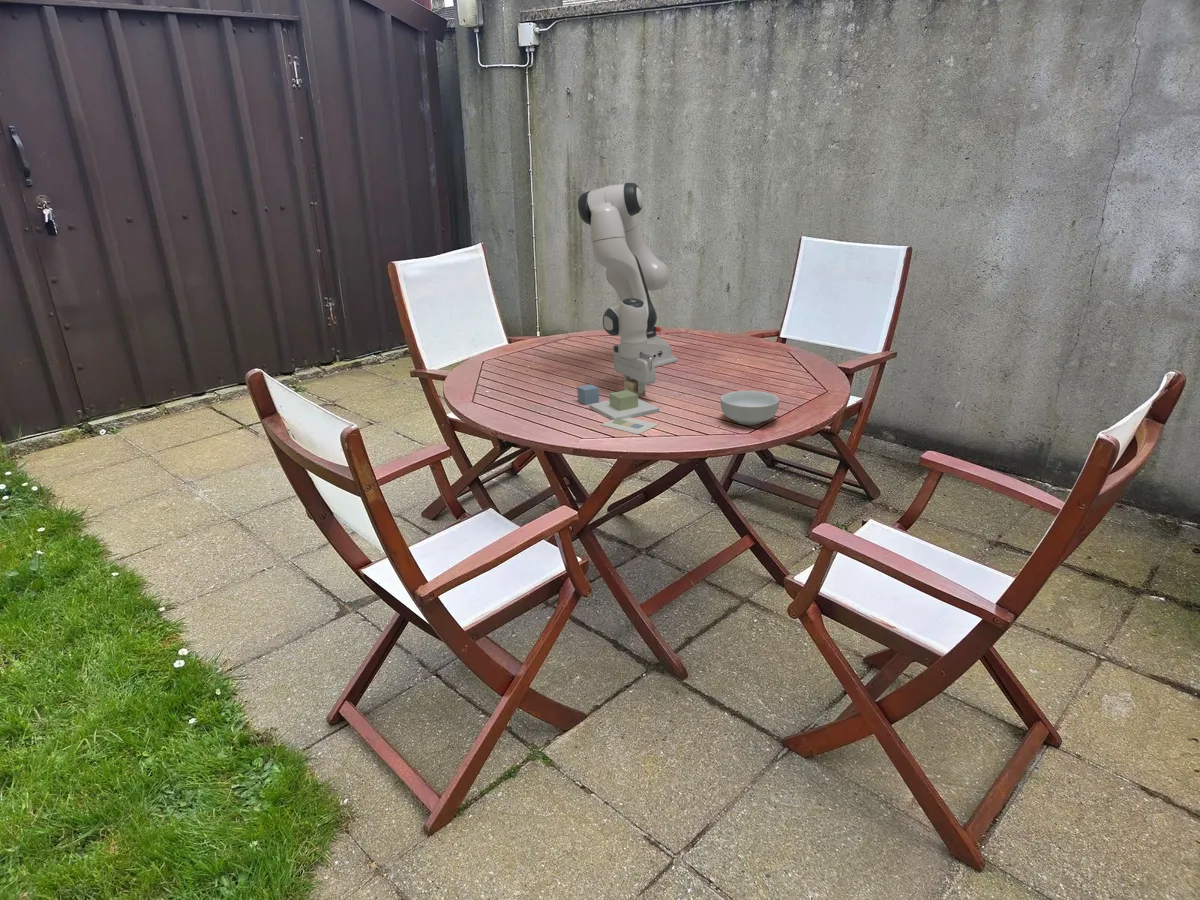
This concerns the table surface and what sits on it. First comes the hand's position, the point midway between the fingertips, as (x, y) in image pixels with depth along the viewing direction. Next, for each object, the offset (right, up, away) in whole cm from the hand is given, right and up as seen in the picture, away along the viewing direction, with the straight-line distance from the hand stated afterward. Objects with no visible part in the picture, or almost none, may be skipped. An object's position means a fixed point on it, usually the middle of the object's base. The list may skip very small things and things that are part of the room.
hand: (634, 390), depth 247 cm
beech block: (0, -1, +1) cm, 2 cm away
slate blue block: (-15, -4, -4) cm, 16 cm away
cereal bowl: (+33, -11, -26) cm, 43 cm away
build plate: (-4, -7, -13) cm, 16 cm away
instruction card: (-3, -12, -27) cm, 29 cm away
